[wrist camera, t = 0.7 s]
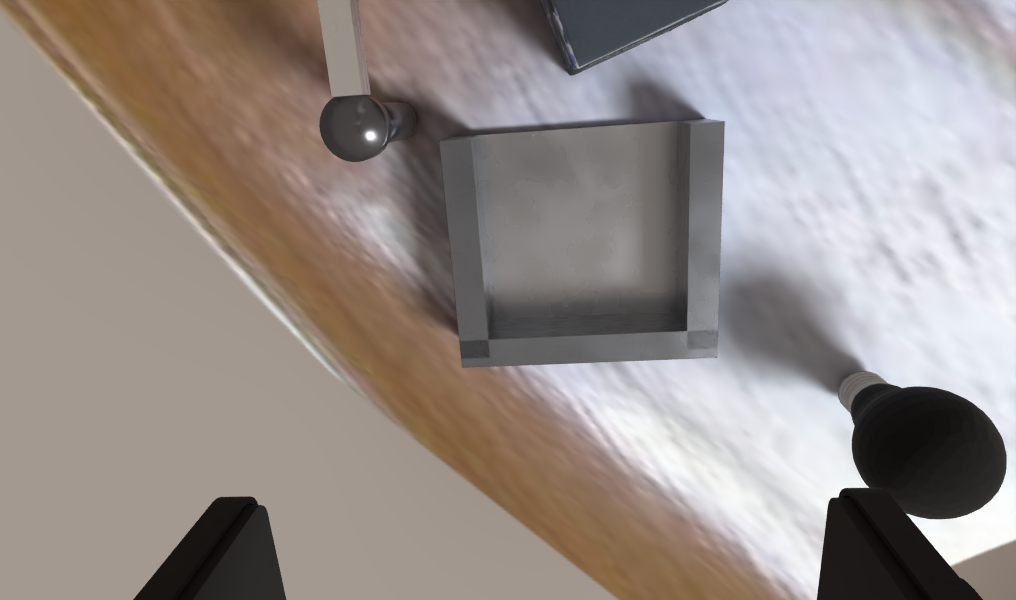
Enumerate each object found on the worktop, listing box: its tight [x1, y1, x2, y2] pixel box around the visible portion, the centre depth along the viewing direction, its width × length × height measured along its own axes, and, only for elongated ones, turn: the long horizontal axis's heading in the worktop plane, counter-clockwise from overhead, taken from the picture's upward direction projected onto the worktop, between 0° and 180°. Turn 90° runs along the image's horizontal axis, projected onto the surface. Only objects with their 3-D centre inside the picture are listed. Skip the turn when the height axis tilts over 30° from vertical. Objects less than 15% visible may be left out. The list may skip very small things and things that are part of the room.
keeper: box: [381, 102, 725, 368], centre depth 30 cm, size 13×16×7 cm
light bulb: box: [838, 371, 1006, 519], centre depth 31 cm, size 6×6×10 cm
